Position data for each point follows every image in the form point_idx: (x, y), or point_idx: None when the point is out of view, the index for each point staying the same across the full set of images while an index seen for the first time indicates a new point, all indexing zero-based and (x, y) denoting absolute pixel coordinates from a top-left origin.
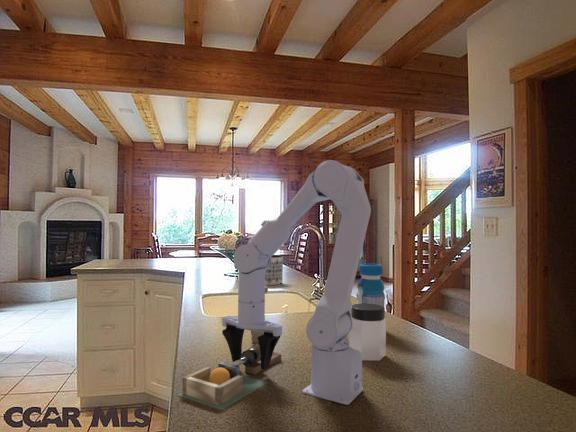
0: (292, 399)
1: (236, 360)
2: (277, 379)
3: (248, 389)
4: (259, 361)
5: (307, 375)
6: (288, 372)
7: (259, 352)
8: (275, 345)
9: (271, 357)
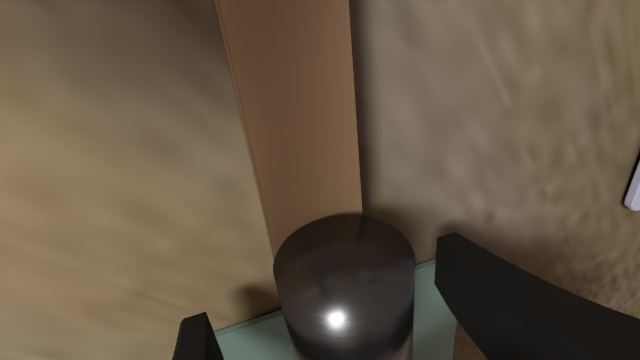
0: (594, 254)
1: (219, 352)
2: (477, 187)
3: (432, 340)
4: (311, 197)
5: (610, 13)
6: (490, 65)
7: (413, 313)
8: (625, 320)
9: (325, 51)
